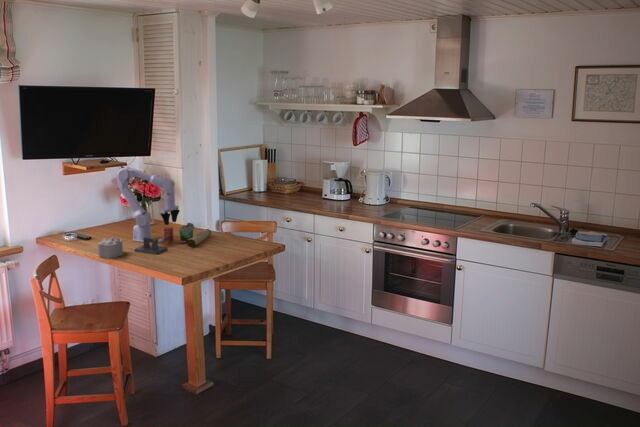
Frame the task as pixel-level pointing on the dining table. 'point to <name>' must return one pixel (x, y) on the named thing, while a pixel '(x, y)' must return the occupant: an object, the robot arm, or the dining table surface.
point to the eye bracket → (150, 246)
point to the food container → (186, 233)
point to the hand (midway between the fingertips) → (170, 223)
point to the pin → (167, 235)
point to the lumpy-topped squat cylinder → (110, 248)
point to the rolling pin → (198, 238)
